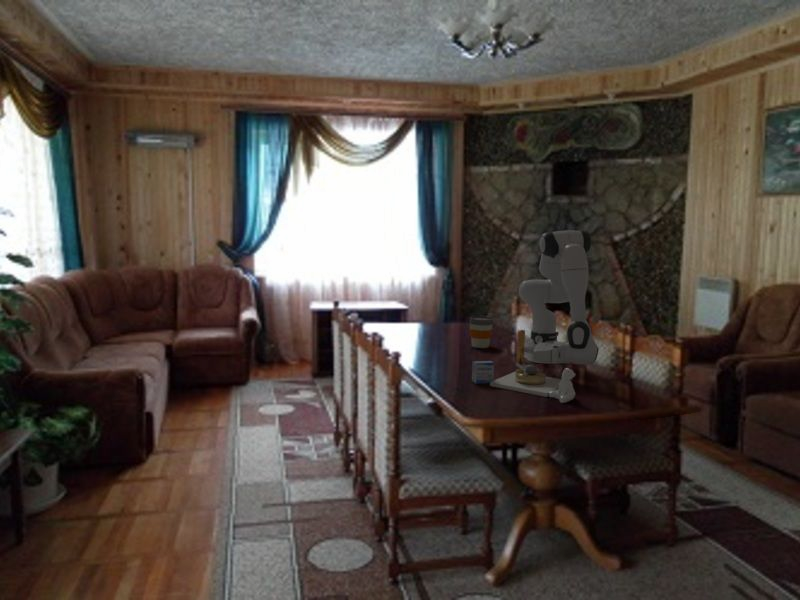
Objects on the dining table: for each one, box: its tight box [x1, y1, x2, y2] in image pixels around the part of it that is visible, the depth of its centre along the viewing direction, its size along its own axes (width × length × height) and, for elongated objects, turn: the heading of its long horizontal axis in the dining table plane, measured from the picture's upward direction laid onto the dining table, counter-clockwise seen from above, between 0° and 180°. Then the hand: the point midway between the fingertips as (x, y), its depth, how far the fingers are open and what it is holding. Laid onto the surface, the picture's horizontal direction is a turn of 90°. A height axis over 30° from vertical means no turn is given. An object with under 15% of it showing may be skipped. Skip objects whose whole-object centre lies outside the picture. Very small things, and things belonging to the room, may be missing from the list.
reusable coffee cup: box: [469, 316, 494, 349], centre depth 323 cm, size 13×13×15 cm
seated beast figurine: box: [548, 367, 577, 404], centre depth 229 cm, size 10×9×12 cm
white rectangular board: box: [489, 364, 562, 398], centre depth 248 cm, size 24×24×8 cm
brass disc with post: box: [515, 329, 547, 385], centre depth 252 cm, size 22×12×18 cm, turn 7°
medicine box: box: [471, 360, 495, 385], centre depth 250 cm, size 8×4×9 cm, turn 105°
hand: (524, 349), depth 261 cm, fingers closed
